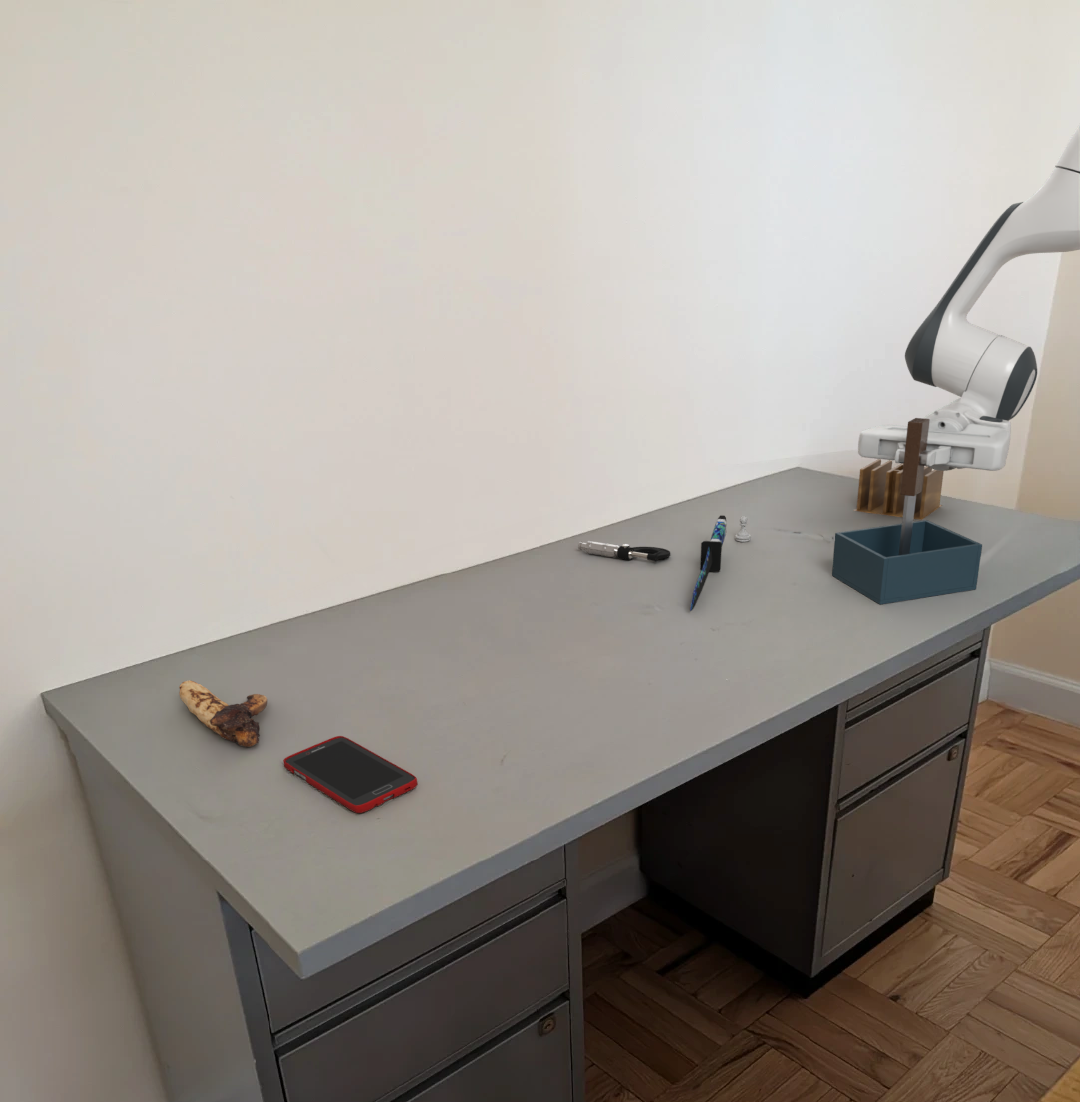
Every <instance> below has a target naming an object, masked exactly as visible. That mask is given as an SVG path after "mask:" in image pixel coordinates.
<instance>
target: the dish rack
mask: <svg viewBox="0 0 1080 1102" xmlns="http://www.w3.org/2000/svg"><path fill="white" fill-rule="evenodd" d="M944 472H945V471H939V470H934V469H932V468H930V467H928V466H924V473H923V482H922V491H921V492H920V493H918V494H917V495H916V501H915V510H914V519H913V520H918V521H923V520H925V519H926V518H927V517H929V516H930V515H932V513H934V512H935V511H937V510H938V509H939V508H941V507H943V504H940V503H941V497H942V496H941V495H942V488H943V482H944V481H943V479H944ZM902 473H903V464H902V463H899V464H898V465H896V466H894V467H893V460H887V461H885V462H884V463H882V459H876V460H874V461H872V462H870V463H869V464H867V465H865V466H863V467H862V468H859V476H858V488H857V500H856V508H855V509H853V510H852V511H853V512H859V513H867V514H874V515H882V516H889V517H898V518H903V509H904V500H905V496H906V495H900V492H901V483H902Z"/></svg>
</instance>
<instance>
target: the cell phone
mask: <svg viewBox="0 0 1080 1102" xmlns="http://www.w3.org/2000/svg"><path fill="white" fill-rule="evenodd" d="M282 762H283V763H282V764H283V767H284V768H285V769H286V770H288V771H289V772H290V773H292V774H295V775H296V776H297V777H299V778H301V779H303V780H304V781H305V782H306V783H307V784H308V785H310V786H312V787H313V788H315V789H316V790H318V791H320V792H321V793H322V794H325V795H326V796H327V797H329V798H331V799H332V800H334V801H336V802H337V803H338V804H340V805H342V806H343V807H346V808H347V809H348V810H350V811H352V812H354V813H356V814H362V813H366V812H368V811H370V810H372V809H374V808H376V807H379V806H381V805H383V804H384V803H385V802H387V801H389V800H392V799H395V798H397V797H400V796H402V795H403V794H405V793H408V792H410V791H412V790H414V789H416V787H417V786H418V778H417V777H416V776H415V775H414V774H412V773H411V772H409V771H407V770H405V769H404V768H402V767H400V766H398V765H396V763H393V762H391V761H389V760H388V759H385V758H384V757H382V756H380V755H379V754H377V753H375V752H373V751H372V750H370V749H368V748H367V747H364V746H362V744H359V743H357V742H355V741H353V740H352V739H350V738H348V737H346V736H344V735H337V736H334V737H330V738H329V739H326V740H323V741H321V742H319V743H316V744H314V745H312V746H309V747H307V748H305V749H302V750H300V751H297V752H294V753H292V754H290V755H288V756H286V757H284V758H283V760H282Z"/></svg>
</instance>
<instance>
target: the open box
mask: <svg viewBox="0 0 1080 1102" xmlns="http://www.w3.org/2000/svg"><path fill="white" fill-rule="evenodd" d="M901 528H902V522H901V523H895V524H894V523H893V524H888V525H882V526H881V525H880V526H874V527H865V528H860V529H853V530H845V531H838V532H835V533H834V543H833V544H834V545H833V555H832V569H831V572H832V573H831V576H832V577H834V578H835V579H837V580H839V581H840V582H842V583H843V584H845V585H847V586H848V587H850V588H851V589H853V590H854V591H857V592H858V593H859V594H861V595H864V596H865V597H867V598H868V599H870V600H871V601H873V602H875V604H878V605H886V604H893V603H898V602H905V601H911V600H917V599H923V598H930V597H936V596H937V597H938V596H942V595H949V594H955V593H956V594H957V593H963V592H969V591H975V590H977V585H978V579H979V571H980V564H981V557H982V551H983V544H982V543H980V542H978V541H975V540H973V539H971V538H970V537H969V538H968V537H967V536H964V535H962V534H960V533H958V532H955V531H953V530H952V529H948V528H946V527H944V526H942V525H939V524H937V523H936V522H933V521H930V520H928V519H922V520H917V521H913V527H912V536H911V545H910V554H905V555H899V546H900V537H901Z"/></svg>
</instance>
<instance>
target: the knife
mask: <svg viewBox="0 0 1080 1102" xmlns="http://www.w3.org/2000/svg"><path fill="white" fill-rule="evenodd" d="M715 521H716V522H715V525H714V527H713V531H712V534H711V537H710V540H703V541H701V543H700V560H699V561H700V564H699V570H700V573H699V575H698V577H697V579H696V582H695V585H694V588H693V592H692V596H691V601H690V608H689V611H690V612H692V611H693V610H694V609H695V606H696V604H697V602H698V600H699V598H700V595H701V594H702V592H703V589H704V586H705V584H706V581H707V578H708V576H709V573H710V572H713V573H719V572H721V567H722V552H723V551H722V548H723V545H724V543H725V539H726V536H727V529H728V527H727V525H728V523H727V522H728V521H727V517H726V515H723V514H721V515H718V518H717V519H716V520H715Z"/></svg>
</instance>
